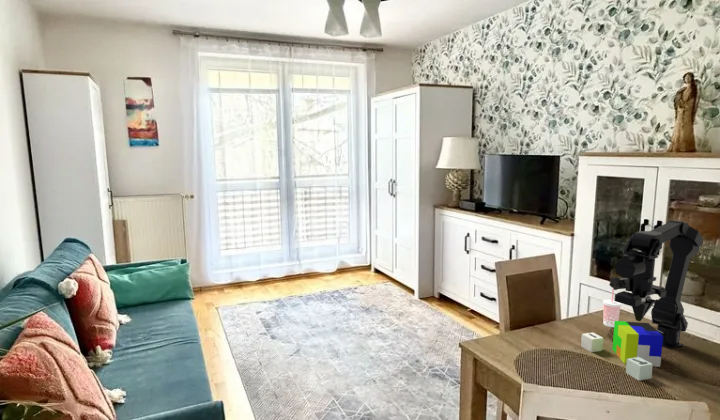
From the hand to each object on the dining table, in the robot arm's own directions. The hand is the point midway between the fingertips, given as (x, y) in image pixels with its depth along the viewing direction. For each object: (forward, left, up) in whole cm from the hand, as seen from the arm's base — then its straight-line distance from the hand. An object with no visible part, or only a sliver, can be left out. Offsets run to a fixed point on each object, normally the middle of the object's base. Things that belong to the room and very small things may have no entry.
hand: (638, 320), depth 135 cm
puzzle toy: (0, 0, -13) cm, 13 cm away
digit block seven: (+8, +9, -13) cm, 18 cm away
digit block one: (+8, -9, -13) cm, 18 cm away
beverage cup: (-13, -23, -13) cm, 29 cm away
